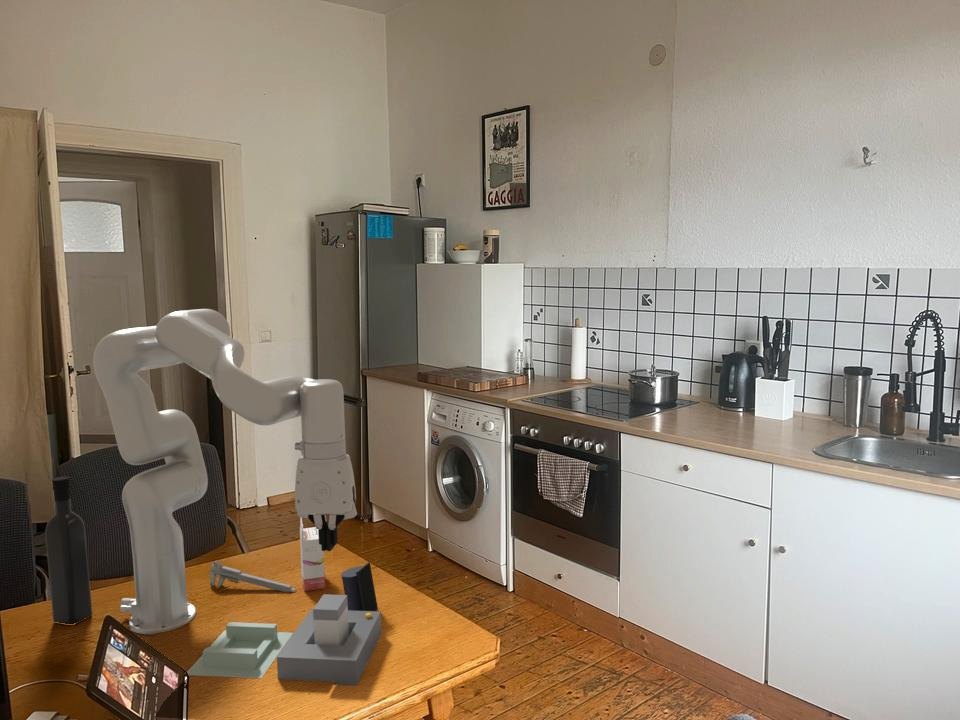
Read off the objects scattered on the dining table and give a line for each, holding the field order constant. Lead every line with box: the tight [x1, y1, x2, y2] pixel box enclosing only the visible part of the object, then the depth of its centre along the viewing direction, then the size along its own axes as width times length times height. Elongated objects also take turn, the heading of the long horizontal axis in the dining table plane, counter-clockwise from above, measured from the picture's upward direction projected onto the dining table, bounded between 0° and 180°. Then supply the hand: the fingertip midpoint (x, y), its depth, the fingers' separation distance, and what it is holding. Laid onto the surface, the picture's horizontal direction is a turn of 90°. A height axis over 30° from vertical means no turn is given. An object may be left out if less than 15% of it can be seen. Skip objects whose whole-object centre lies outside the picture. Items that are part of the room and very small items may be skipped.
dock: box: [276, 608, 382, 687], centre depth 136 cm, size 14×18×5 cm
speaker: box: [340, 561, 379, 611], centre depth 154 cm, size 8×6×10 cm
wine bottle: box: [44, 476, 93, 624], centre depth 150 cm, size 6×6×30 cm
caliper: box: [209, 559, 297, 593], centre depth 166 cm, size 20×1×6 cm, turn 80°
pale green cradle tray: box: [187, 621, 294, 679], centre depth 137 cm, size 14×16×4 cm
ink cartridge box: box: [299, 517, 326, 592], centre depth 168 cm, size 9×5×15 cm, turn 17°
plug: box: [312, 593, 349, 646], centre depth 136 cm, size 4×6×10 cm
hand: (328, 548), depth 134 cm, fingers closed
